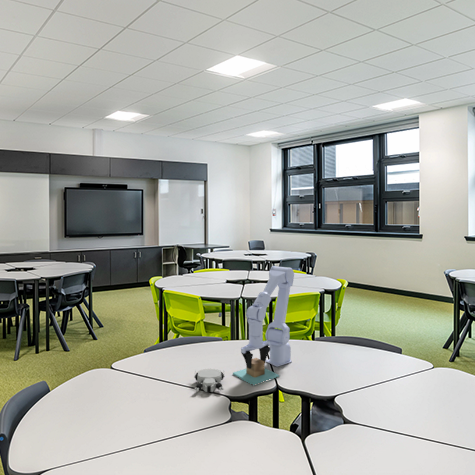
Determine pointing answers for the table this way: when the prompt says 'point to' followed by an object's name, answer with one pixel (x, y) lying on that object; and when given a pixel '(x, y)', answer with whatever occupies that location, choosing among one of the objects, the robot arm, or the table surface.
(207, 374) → the robot toy
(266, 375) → the teal board
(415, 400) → the table surface
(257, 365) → the walnut cube
